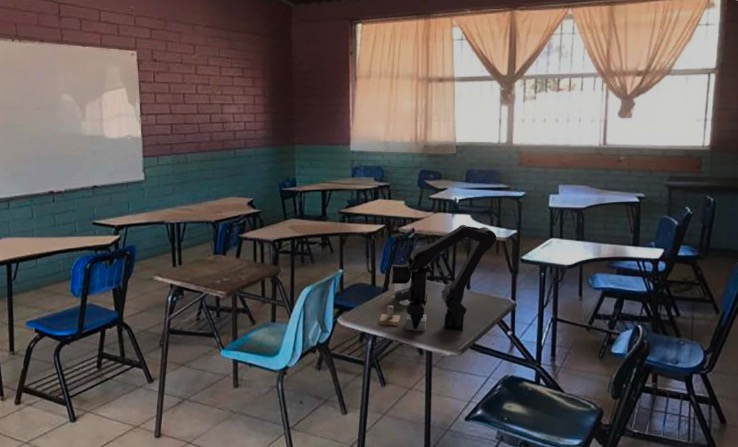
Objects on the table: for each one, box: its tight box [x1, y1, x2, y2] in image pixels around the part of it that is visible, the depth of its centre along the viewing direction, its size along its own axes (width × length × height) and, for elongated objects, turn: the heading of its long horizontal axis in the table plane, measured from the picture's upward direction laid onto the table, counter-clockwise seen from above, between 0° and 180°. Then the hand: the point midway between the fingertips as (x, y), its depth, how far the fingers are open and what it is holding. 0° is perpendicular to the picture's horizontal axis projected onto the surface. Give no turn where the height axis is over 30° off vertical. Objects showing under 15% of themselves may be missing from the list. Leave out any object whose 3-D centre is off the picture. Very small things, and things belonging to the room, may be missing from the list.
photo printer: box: [393, 278, 411, 306], centre depth 256 cm, size 10×4×12 cm, turn 17°
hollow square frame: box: [405, 313, 428, 332], centre depth 229 cm, size 7×7×4 cm
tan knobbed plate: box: [379, 305, 401, 327], centre depth 233 cm, size 7×7×6 cm
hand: (416, 324), depth 229 cm, fingers open, 9 cm apart
